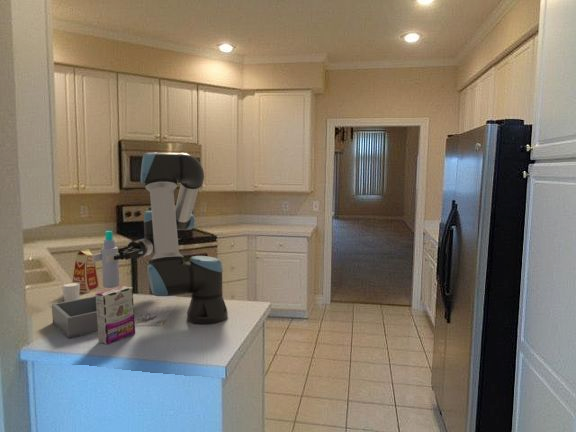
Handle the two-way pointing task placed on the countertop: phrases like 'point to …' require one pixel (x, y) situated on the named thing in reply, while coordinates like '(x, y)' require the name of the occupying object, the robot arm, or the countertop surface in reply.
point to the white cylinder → (71, 291)
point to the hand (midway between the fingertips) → (100, 258)
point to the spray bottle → (109, 269)
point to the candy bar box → (115, 314)
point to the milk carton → (85, 271)
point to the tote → (76, 317)
